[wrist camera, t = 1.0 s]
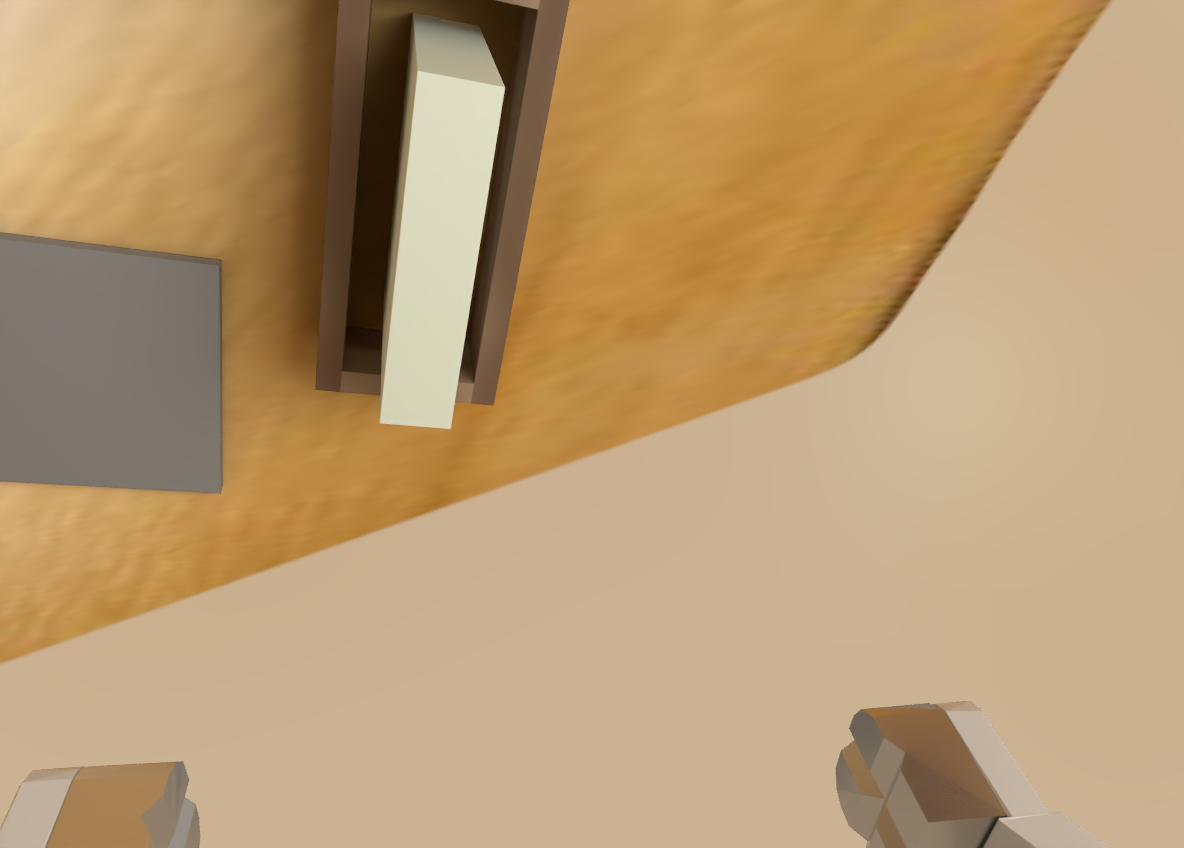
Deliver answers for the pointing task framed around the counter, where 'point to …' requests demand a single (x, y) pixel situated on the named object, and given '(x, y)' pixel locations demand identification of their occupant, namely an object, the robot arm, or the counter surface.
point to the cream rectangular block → (437, 217)
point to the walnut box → (357, 352)
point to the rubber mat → (109, 366)
